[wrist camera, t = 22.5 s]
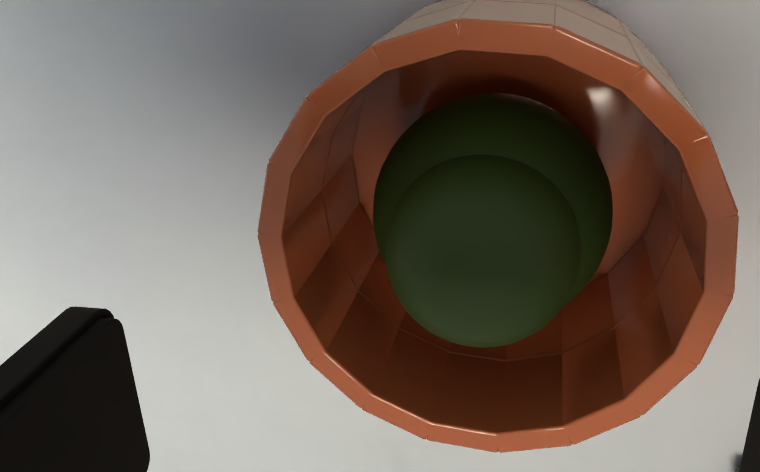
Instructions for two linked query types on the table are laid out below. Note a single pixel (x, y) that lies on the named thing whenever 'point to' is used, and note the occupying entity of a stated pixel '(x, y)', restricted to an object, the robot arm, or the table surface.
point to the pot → (575, 320)
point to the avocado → (491, 217)
